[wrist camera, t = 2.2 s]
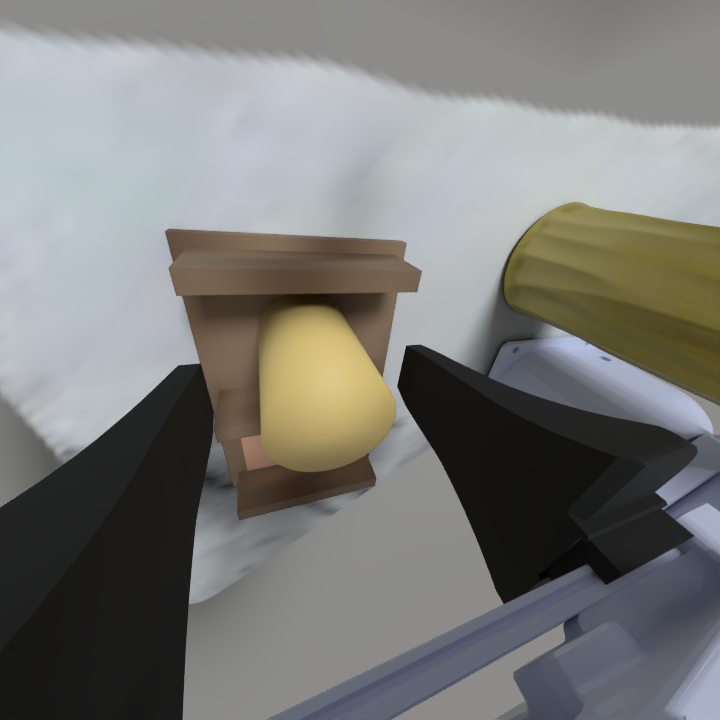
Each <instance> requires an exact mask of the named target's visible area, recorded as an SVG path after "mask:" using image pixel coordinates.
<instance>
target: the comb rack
mask: <svg viewBox="0 0 720 720" xmlns="http://www.w3.org/2000/svg"><path fill="white" fill-rule="evenodd" d="M165 233H166V237H167V240H168V244H169V248H170V252H171V255H172V259H173V263H172V264H171V266H170V267H169V271H170V275H171V278H172V282H173V285H174V289H175V293H176V296H183V300H184V304H185V308H186V311H187V315H188V319H189V323H190V326H191V330H192V334H193V337H194V341H195V345H196V349H197V352H198V356H199V360H200V364H201V365H202V369H203V373H204V377H205V380H206V384H207V388H208V392H209V395H210V399H211V403H212V407H213V410H214V416H215V424H214V432H215V435H216V439H217V442H222V446H223V449H224V453H225V457H226V460H227V464H228V468H229V472H230V475H231V479H232V483H233V486H237V485H238V506H237V514H238V517H239V520H242V519H246V518H250V517H254V516H258V515H262V514H266V513H269V512H273V511H277V510H281V509H285V508H289V507H293V506H297V505H301V504H305V503H309V502H313V501H317V500H321V499H325V498H329V497H333V496H337V495H341V494H345V493H349V492H352V491H356V490H360V489H364V488H368V487H372V486H375V482H376V476H375V474H374V471H373V469H372V466H371V464H370V461H369V459H368V455H369V453H368V454H366V455H365V456H363V457H362V458H360V459H358V460H356V461H354V462H352V463H350V464H347V465H345V466H342V467H339V468H336V469H332V470H327V471H320V472H301V471H295V470H291V469H288V468H285V467H283V466H280V465H279V464H277V463H276V462H274V461H273V460H272V459H271V458H270V457H269V456H268V455H267V454H266V452H265V450H264V448H263V445H262V441H261V418H260V385H259V353H258V325H259V321H260V318H261V316H262V314H263V312H264V311H265V309H266V308H267V307H268V306H269V305H270V304H271V303H272V302H273V301H275V300H276V299H278V298H279V297H281V296H283V295H286V294H321V295H323V296H325V297H327V298H329V299H330V300H331V301H332V302H334V303H335V304H336V306H337V307H338V308H339V310H340V311H341V313H342V314H343V316H344V317H345V319H346V321H347V322H348V324H349V325H350V327H351V329H352V330H353V332H354V333H355V335H356V337H357V338H358V340H359V341H360V343H361V345H362V346H363V348H364V350H365V351H366V353H367V354H368V356H369V358H370V359H371V361H372V362H373V364H374V366H375V367H376V369H377V370H378V372H379V374H380V375H381V377H383V372H384V366H385V360H386V355H387V349H388V344H389V338H390V332H391V327H392V321H393V316H394V310H395V304H396V299H397V293H398V292H417V291H418V286H419V281H420V277H421V272H422V271H421V270H419V269H417V268H416V267H414V266H412V265H411V264H409V263H407V262H406V261H404V254H405V249H406V243H405V242H403V241H396V240H376V239H357V238H337V237H318V236H298V235H278V234H259V233H239V232H220V231H200V230H181V229H168V230H166V231H165Z"/></svg>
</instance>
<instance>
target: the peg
mask: <svg viewBox="0 0 720 720" xmlns="http://www.w3.org/2000/svg"><path fill="white" fill-rule="evenodd" d="M258 353H259V385H260V418H261V441H262V445H263V448H264V450H265V452H266V454H267V455H268V456H269V457H270V458H271V459H272V460H273V461H274V462H276V463H277V464H279V465H280V466H283V467H285V468H288V469H291V470H295V471H301V472H320V471H327V470H332V469H336V468H339V467H342V466H345V465H347V464H350V463H352V462H354V461H356V460H358V459H360V458H362V457H363V456H365V455H366V454H368V453H369V452H370V451H372V450H373V449H374V448H375V447H376V446H378V445H379V444H380V442H381V441H382V440H383V439H384V438H385V437H386V435H387V434H388V432H389V431H390V429H391V427H392V425H393V422H394V419H395V414H396V404H395V399H394V397H393V394H392V393H391V391H390V390H389V388H388V386H387V385H386V383H385V382H384V380H383V378H382V377H381V375H380V374H379V372H378V370H377V369H376V367H375V366H374V364H373V362H372V361H371V359H370V358H369V356H368V354H367V353H366V351H365V350H364V348H363V346H362V345H361V343H360V341H359V340H358V338H357V337H356V335H355V333H354V332H353V330H352V329H351V327H350V325H349V324H348V322H347V321H346V319H345V317H344V316H343V314H342V313H341V311H340V310H339V308H338V307H337V306H336V304H335V303H334V302H332V301H331V300H330V299H329V298H327V297H325V296H323V295H321V294H286V295H283V296H281V297H279V298H278V299H276V300H275V301H273V302H272V303H271V304H270V305H269V306H268V307H267V308H266V309H265V311H264V312H263V314H262V316H261V318H260V321H259V325H258Z"/></svg>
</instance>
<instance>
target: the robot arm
mask: <svg viewBox="0 0 720 720" xmlns="http://www.w3.org/2000/svg"><path fill="white" fill-rule="evenodd" d="M397 387H398V389H399V392H400V394H401V396H402V399H403V401H404V403H405V405H406V407H407V409H408V410H409V412H410V414H411V415H412V417H413V418H414V420H415V422H416V423H417V425H418V426H419V428H420V429H421V431H422V432H423V434H424V436H425V437H426V439H427V440H428V442H429V443H430V445H431V446H432V448H433V450H434V451H435V453H436V454H437V456H438V458H439V460H440V461H441V463H442V465H443V467H444V469H445V471H446V473H447V475H448V477H449V479H450V481H451V483H452V485H453V487H454V489H455V491H456V493H457V495H458V498H459V500H460V502H461V504H462V506H463V508H464V510H465V513H466V515H467V517H468V520H469V522H470V524H471V527H472V529H473V531H474V534H475V536H476V538H477V541H478V543H479V546H480V548H481V551H482V554H483V556H484V559H485V562H486V564H487V567H488V569H489V572H490V574H491V577H492V580H493V583H494V586H495V589H496V591H497V593H498V595H499V596H500V598H501V600H502V601H503V603H504V605H502V606H499V607H497V608H495V609H493V610H491V611H489V612H487V613H485V614H483V615H481V616H479V617H477V618H475V619H473V620H471V621H469V622H466V623H464V624H462V625H460V626H458V627H456V628H454V629H452V630H450V631H448V632H446V633H444V634H442V635H440V636H438V637H436V638H434V639H432V640H429V641H427V642H425V643H423V644H421V645H419V646H417V647H415V648H413V649H411V650H409V651H407V652H405V653H403V654H401V655H399V656H396V657H395V658H392V659H390V660H388V661H386V662H384V663H382V664H380V665H378V666H376V667H374V668H372V669H370V670H368V671H365V672H363V673H361V674H360V675H357V676H355V677H353V678H351V679H349V680H347V681H345V682H343V683H341V684H339V685H337V686H335V687H332V688H330V689H328V690H326V691H325V692H322V693H320V694H318V695H316V696H314V697H312V698H310V699H308V700H306V701H304V702H302V703H300V704H297V705H296V706H293V707H291V708H289V709H287V710H285V711H283V712H281V713H279V714H277V715H275V716H273V717H271V718H269V719H267V720H391V719H393V718H395V717H397V716H398V715H400V714H402V713H404V712H405V711H407V710H409V709H411V708H412V707H414V706H416V705H418V704H420V703H422V702H423V701H425V700H427V699H429V698H430V697H432V696H434V695H436V694H438V693H439V692H441V691H443V690H445V689H446V688H448V687H450V686H452V685H453V684H455V683H457V682H459V681H461V680H462V679H464V678H466V677H468V676H470V675H471V674H473V673H475V672H477V671H478V670H480V669H482V668H484V667H486V666H487V665H489V664H491V663H493V662H494V661H496V660H498V659H500V658H502V657H503V656H505V655H507V654H509V653H510V652H512V651H514V650H516V649H518V648H519V647H521V646H523V645H525V644H526V643H528V642H530V641H532V640H534V639H535V638H537V637H539V636H541V635H542V634H544V633H545V632H547V631H550V630H551V629H553V628H555V627H557V626H558V625H560V624H562V623H564V622H565V623H564V633H565V642H564V643H562V644H560V645H559V646H557V647H555V648H553V649H551V650H549V651H548V652H546V653H544V654H543V655H540V656H539V657H537V658H535V659H533V660H532V661H530V662H529V663H527V664H525V665H524V666H522V667H521V668H519V669H518V670H516V671H515V672H514V677H513V678H514V680H515V682H516V684H517V686H518V687H519V689H520V691H521V693H522V695H523V697H524V699H525V701H524V702H523V703H521V704H519V705H518V706H516V707H514V708H513V709H511V710H509V711H508V712H506V713H505V714H503V715H501V716H499V717H498V718H496V719H494V720H720V435H716V434H713V428H712V424H711V422H710V420H709V418H708V417H707V415H706V413H705V412H704V411H703V409H702V408H701V407H700V406H699V405H698V404H697V403H696V402H695V401H694V400H693V399H691V398H690V397H689V396H687V395H686V394H684V393H683V392H681V391H679V390H677V389H675V388H673V387H671V386H669V385H667V384H665V383H663V382H661V381H660V380H657V379H656V378H654V377H652V376H650V375H648V374H646V373H644V372H642V371H640V370H638V369H636V368H634V367H632V366H630V365H628V364H626V363H625V362H623V361H621V360H619V359H617V358H615V357H613V356H611V355H609V354H607V353H605V352H603V351H601V350H599V349H597V347H595V346H593V345H591V344H589V343H587V342H585V341H583V340H581V339H580V338H578V337H576V336H567V337H556V338H545V339H534V340H523V341H511V342H507V343H505V344H503V346H502V347H501V348H500V351H499V353H498V355H497V358H496V360H495V362H494V364H493V367H492V369H491V371H490V373H489V376H488V377H487V376H485V375H482V374H480V373H478V372H476V371H474V370H472V369H470V368H468V367H466V366H464V365H462V364H460V363H458V362H456V361H454V360H452V359H450V358H448V357H446V356H444V355H442V354H440V353H438V352H436V351H434V350H432V349H429V348H427V347H425V346H422V345H410V346H406V349H405V354H404V358H403V363H402V367H401V372H400V376H399V381H398V385H397ZM213 419H214V410H213V407H212V403H211V399H210V395H209V392H208V388H207V384H206V380H205V377H204V373H203V369H202V365H201V364H191V365H179V366H178V367H176V368H175V369H174V370H173V371H172V372H171V373H170V374H169V375H168V376H167V377H166V378H165V379H164V380H163V381H162V382H161V383H160V384H159V385H158V386H157V387H156V388H155V389H153V390H152V391H151V392H150V393H149V394H148V395H147V396H146V397H145V398H144V399H143V400H142V401H141V402H140V403H138V404H137V405H136V406H135V407H134V408H133V409H132V410H131V411H130V412H129V413H127V414H126V415H125V416H124V417H123V418H121V419H120V420H119V421H118V422H117V423H116V424H114V425H113V426H112V427H111V428H110V429H109V430H107V431H106V432H105V433H104V434H103V435H101V436H100V437H99V438H98V439H97V440H95V441H94V442H93V443H92V444H90V445H89V446H88V447H86V448H85V449H84V450H83V451H81V452H80V453H79V454H77V455H76V456H75V457H73V458H72V459H71V460H69V461H68V462H66V463H65V464H64V465H62V466H61V467H60V468H58V469H57V470H55V471H54V472H53V473H51V474H50V475H49V476H47V477H46V478H44V479H43V480H41V481H40V482H38V483H37V484H36V485H34V486H33V487H31V488H29V489H28V490H26V491H25V492H23V493H22V494H20V495H19V496H18V497H16V498H14V499H13V500H11V501H10V502H8V503H7V504H5V505H4V506H2V507H1V508H0V720H182V719H183V716H182V715H183V692H184V673H185V652H186V636H187V621H188V605H189V592H190V580H191V568H192V557H193V547H194V536H195V526H196V519H197V513H198V507H199V502H200V497H201V492H202V487H203V483H204V478H205V473H206V468H207V463H208V458H209V453H210V448H211V443H212V435H213Z"/></svg>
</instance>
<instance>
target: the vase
mask: <svg viewBox="0 0 720 720" xmlns="http://www.w3.org/2000/svg"><path fill="white" fill-rule="evenodd" d="M504 295H505V299H506V301H507V303H508V305H509V306H510V307H511V308H512V309H513V310H514V311H516V312H517V313H520V314H522V315H526V316H529V317H532V318H535V319H538V320H540V321H543V322H545V323H548V324H550V325H552V326H554V327H556V328H558V329H561V330H563V331H565V332H567V333H569V334H572V335H574V336H576V337H578V338H580V339H581V340H583V341H585V342H587V343H589V344H591V345H593V346H595V347H597V348H598V349H600V350H602V351H604V352H606V353H608V354H610V355H613V356H615V357H617V358H619V359H621V360H623V361H625V362H627V363H629V364H632V365H634V366H636V367H638V368H640V369H642V370H644V371H646V372H648V373H650V374H653V375H655V376H657V377H659V378H661V379H663V380H665V381H667V382H669V383H671V384H674V385H676V386H678V387H680V388H682V389H684V390H687V391H689V392H691V393H693V394H695V395H698V396H700V397H702V398H704V399H706V400H708V401H711V402H713V403H715V404H717V405H719V406H720V227H714V226H707V225H700V224H692V223H685V222H678V221H672V220H666V219H660V218H655V217H649V216H644V215H638V214H631V213H624V212H616V211H610V210H604V209H599V208H594V207H590V206H588V205H586V204H584V203H580V202H573V203H568V204H565V205H562V206H560V207H557V208H556V209H554V210H552V211H550V212H548V213H547V214H546V215H544V216H543V217H541V218H540V219H539V220H538V221H537V222H536V223H535V224H534V225H533V226H532V227H531V228H530V229H529V230H528V231H527V232H526V234H525V235H524V236H523V238H522V239H521V240H520V242H519V243H518V245H517V246H516V248H515V250H514V252H513V254H512V256H511V258H510V260H509V263H508V266H507V269H506V273H505V277H504Z"/></svg>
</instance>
